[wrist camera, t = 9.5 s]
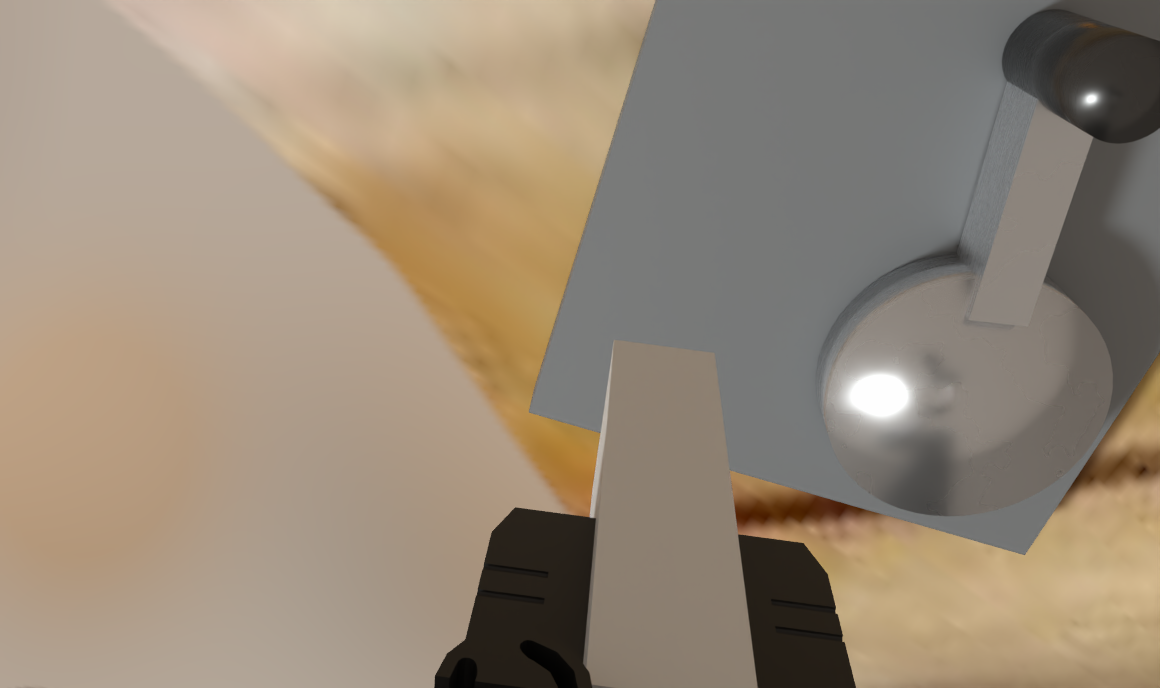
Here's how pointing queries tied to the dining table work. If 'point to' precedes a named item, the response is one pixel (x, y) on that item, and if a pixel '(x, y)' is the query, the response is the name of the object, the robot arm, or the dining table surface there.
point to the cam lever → (993, 298)
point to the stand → (827, 214)
